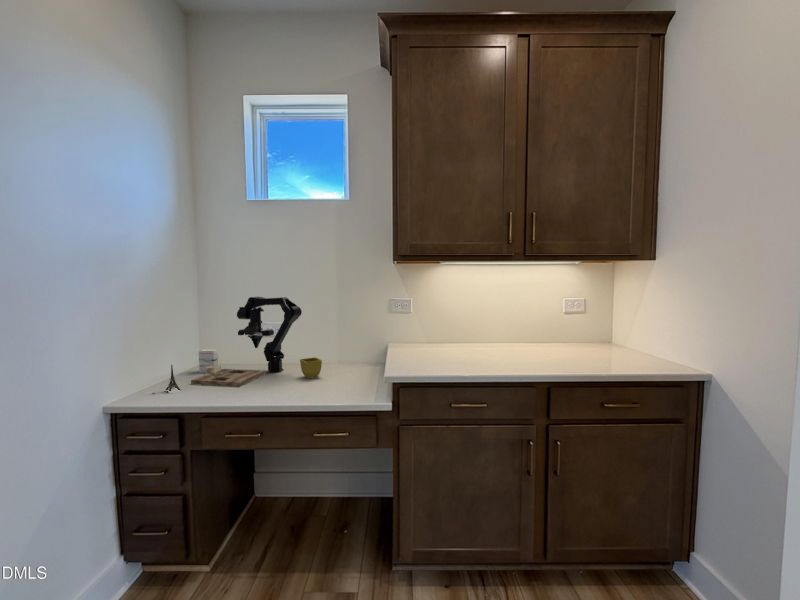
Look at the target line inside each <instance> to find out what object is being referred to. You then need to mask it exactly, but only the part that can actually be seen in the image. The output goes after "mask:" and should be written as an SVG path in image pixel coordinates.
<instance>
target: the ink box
mask: <svg viewBox="0 0 800 600" xmlns="http://www.w3.org/2000/svg"><path fill="white" fill-rule="evenodd" d="M218 352H219V351H218V349H201V350H198V368H199V369H198V370H199V371H198V372H199V373H206V368H207V367H210V366H219V356H218V355H219V354H218Z"/></svg>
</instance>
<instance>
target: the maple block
mask: <svg viewBox="0 0 800 600" xmlns="http://www.w3.org/2000/svg"><path fill="white" fill-rule="evenodd" d="M221 369H222V366H220V365H218V366H210V367H207V368H206V372H205V375H206V376H217V375H219V374H221Z"/></svg>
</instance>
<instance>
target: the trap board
mask: <svg viewBox="0 0 800 600" xmlns="http://www.w3.org/2000/svg"><path fill="white" fill-rule="evenodd" d="M264 374H265V375H266V371H265V370H253V369H252V370H251V369H233V368H231V369H230V368H229V369H228V368H221V374H219V375H217V376H206V374H204V375H201V376H199V377H196V378H193V379H191V380H190V384H191V385H196V384H201V385H200V386H216V385H217V387H218V386H219V387H236V386H237V387H243V386H245V385H247V384H248V382H249V383H250V381H251V382H252V380H253V381H254V379H255V380H256V378H257V379H258V377H259V378H261V377H263V376H265V375H264ZM262 375H263V376H262ZM260 376H261V377H260ZM246 383H247V384H246Z"/></svg>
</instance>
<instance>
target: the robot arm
mask: <svg viewBox="0 0 800 600" xmlns="http://www.w3.org/2000/svg"><path fill="white" fill-rule="evenodd" d="M276 305H277V306H278V305H279V306H280V308H281V310H282V311H283V313H284V314H283V321H282V323H281V324H280V326H279V329H278V331H277V332H276V334H275V332H274V329H264V330H263V328H262V324H263V320H262V315H261V313H262V312H265V309H263V308H262V307H264V306H276ZM238 307H239V309H238V310H237V312H236V316H237V317H236V318H237V319H238V320H249V322H248V325H247V326H246V327H244V328H241V329H239V330H237V336H244V335H245V336H247V338H250V340H251V341H252V344H253V346H254V349H258V348H259V346H260V343H261V341H262V338H263V337H270V336H274V337H273V339H272V340H271V341H269V342H266V344H265V346H264V348H263V354H264V357H265V360H266V362H267V370H266V371H267V373H275V372H278V373H281V372H283V371H284V368H283V359H285V354H284V353H283V352H282V343H283V342H284V340H285V338H286V336H287V334H288V333H289V331H290V329H291V327H292V325H293V324H294V322H296V321H297V320H298V319H299V318H300V317H301V315H302V313H303V311H302V309H301V307H300V306H298V305H297V304H296V303H295V302H293V301H292V300H290V299H289V298H288V297H287V296H281V297H263V296H252V297H251V296H250V297H248V299H247V302H246V304H245V305H244V306H238Z"/></svg>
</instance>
